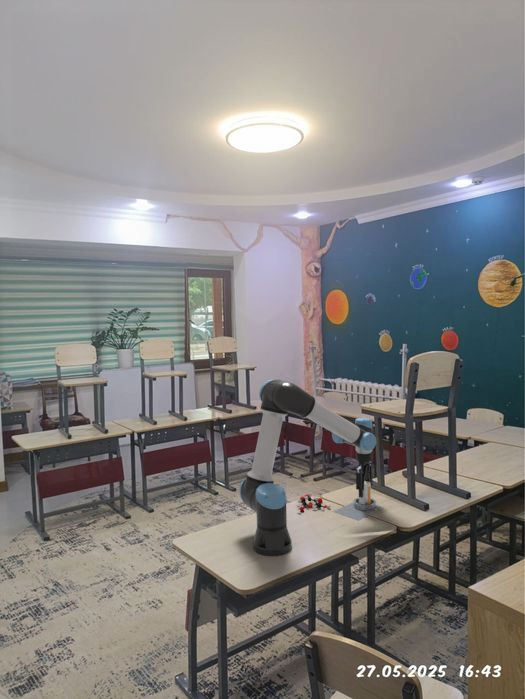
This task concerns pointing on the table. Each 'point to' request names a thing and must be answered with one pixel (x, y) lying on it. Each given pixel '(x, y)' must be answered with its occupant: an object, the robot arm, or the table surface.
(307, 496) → the molecular model
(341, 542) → the table surface
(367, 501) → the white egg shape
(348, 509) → the board
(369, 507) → the duct collar
